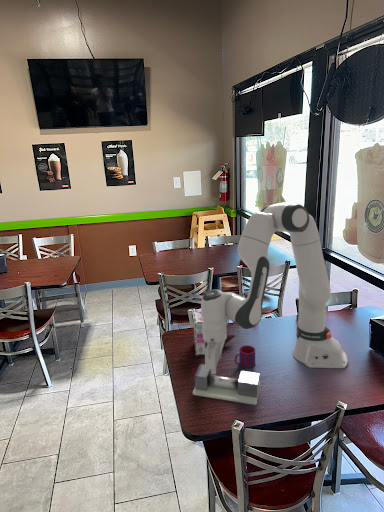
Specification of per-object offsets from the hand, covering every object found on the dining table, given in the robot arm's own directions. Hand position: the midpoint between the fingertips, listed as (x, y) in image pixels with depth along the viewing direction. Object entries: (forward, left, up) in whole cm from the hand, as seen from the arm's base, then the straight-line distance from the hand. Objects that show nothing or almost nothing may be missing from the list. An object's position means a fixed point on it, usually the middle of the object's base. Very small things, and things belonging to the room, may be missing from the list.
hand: (216, 365), depth 135 cm
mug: (-8, -18, -11) cm, 22 cm away
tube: (-1, 0, -9) cm, 9 cm away
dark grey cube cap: (-12, 0, -9) cm, 15 cm away
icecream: (+5, -30, -11) cm, 32 cm away
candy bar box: (+14, -26, -11) cm, 31 cm away
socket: (+5, 0, -9) cm, 11 cm away
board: (-4, 0, -10) cm, 11 cm away
